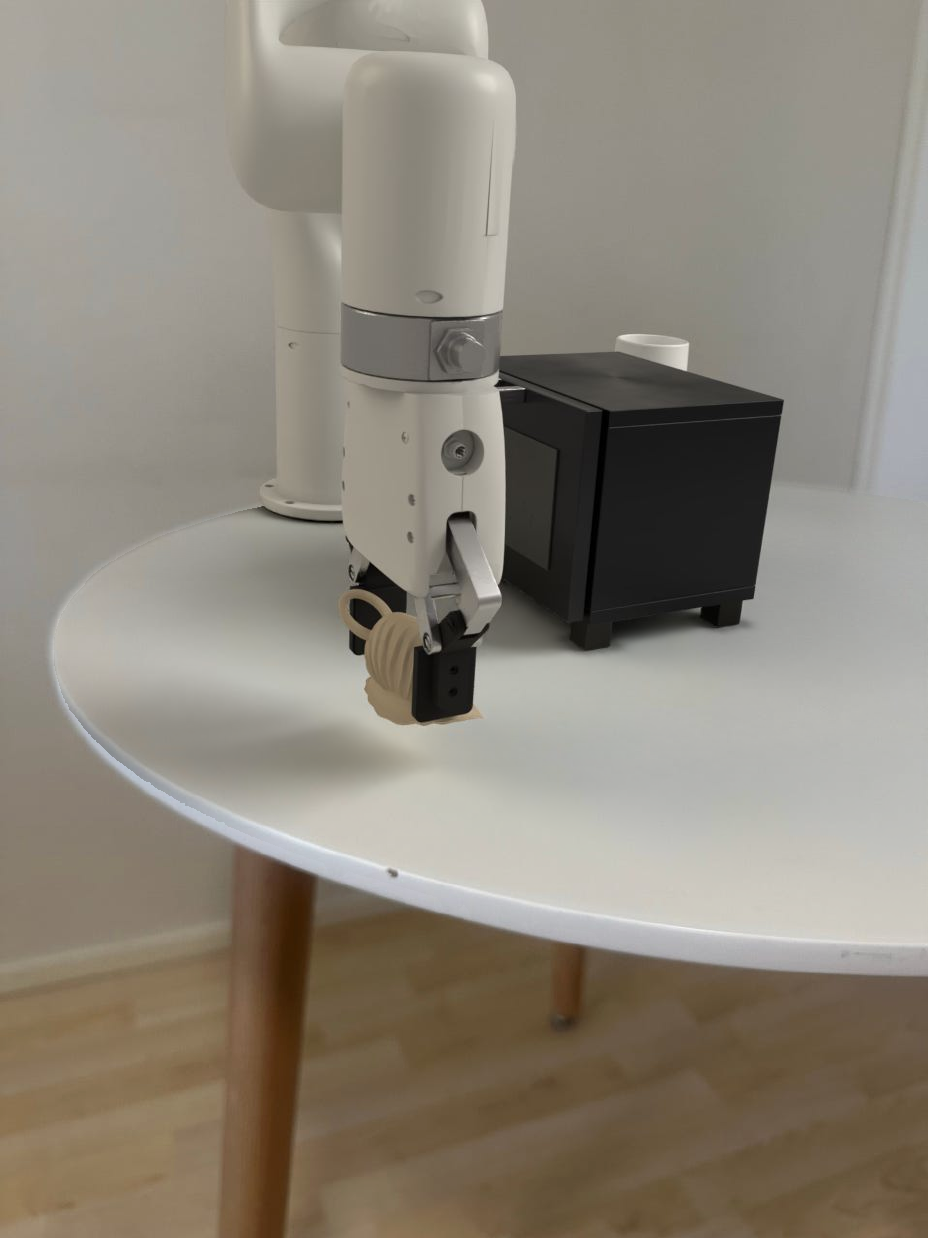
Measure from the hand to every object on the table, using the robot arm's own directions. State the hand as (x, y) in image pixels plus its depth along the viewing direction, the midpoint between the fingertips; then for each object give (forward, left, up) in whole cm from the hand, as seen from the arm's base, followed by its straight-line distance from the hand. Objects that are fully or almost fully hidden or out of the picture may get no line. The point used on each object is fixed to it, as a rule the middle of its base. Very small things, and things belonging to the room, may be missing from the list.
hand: (407, 679), depth 61 cm
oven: (-16, +23, -4) cm, 28 cm away
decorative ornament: (0, 0, -2) cm, 2 cm away
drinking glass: (-36, +41, -4) cm, 55 cm away
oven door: (-16, +12, -2) cm, 20 cm away
